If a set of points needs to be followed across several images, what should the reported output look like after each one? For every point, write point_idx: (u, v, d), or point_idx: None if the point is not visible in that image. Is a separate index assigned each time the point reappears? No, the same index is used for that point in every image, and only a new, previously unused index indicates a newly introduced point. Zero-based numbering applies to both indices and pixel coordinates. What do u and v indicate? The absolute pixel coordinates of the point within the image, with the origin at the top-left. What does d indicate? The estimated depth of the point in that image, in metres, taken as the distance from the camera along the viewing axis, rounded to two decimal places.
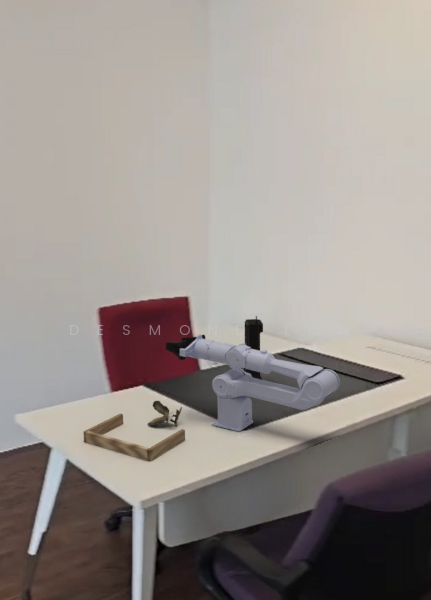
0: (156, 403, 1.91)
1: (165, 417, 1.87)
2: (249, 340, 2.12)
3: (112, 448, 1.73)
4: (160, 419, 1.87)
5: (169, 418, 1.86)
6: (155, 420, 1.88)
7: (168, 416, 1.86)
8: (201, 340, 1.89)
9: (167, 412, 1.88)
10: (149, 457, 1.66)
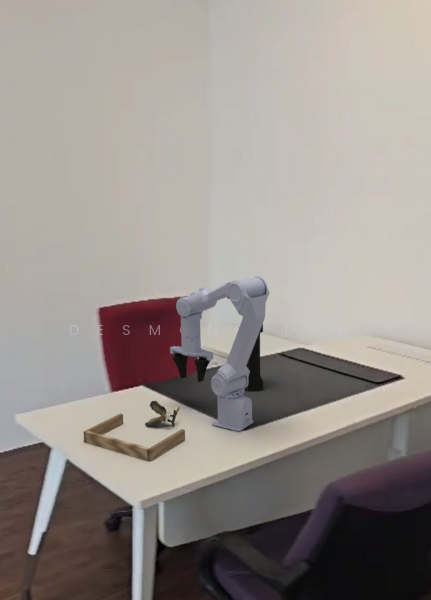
0: (153, 403, 1.91)
1: (162, 417, 1.87)
2: None
3: (112, 448, 1.73)
4: (157, 419, 1.87)
5: (166, 418, 1.86)
6: (152, 420, 1.88)
7: (165, 416, 1.86)
8: None
9: (164, 412, 1.88)
10: (149, 457, 1.66)
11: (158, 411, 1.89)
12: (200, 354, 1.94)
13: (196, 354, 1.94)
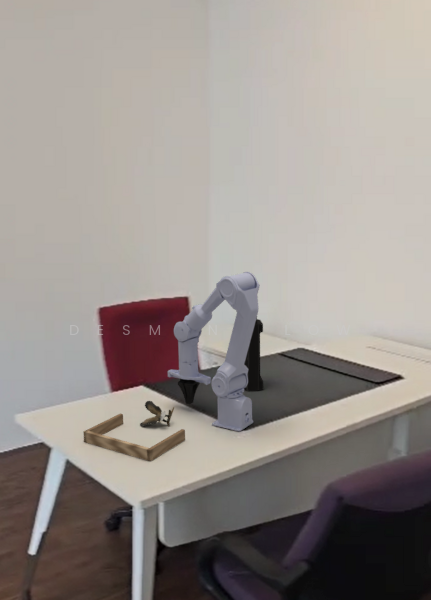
0: (148, 403, 1.91)
1: (157, 417, 1.87)
2: None
3: (112, 448, 1.73)
4: (152, 419, 1.87)
5: (161, 418, 1.86)
6: (147, 420, 1.88)
7: (160, 416, 1.86)
8: None
9: (159, 412, 1.88)
10: (149, 457, 1.66)
11: (153, 411, 1.89)
12: (197, 378, 1.94)
13: (193, 378, 1.94)
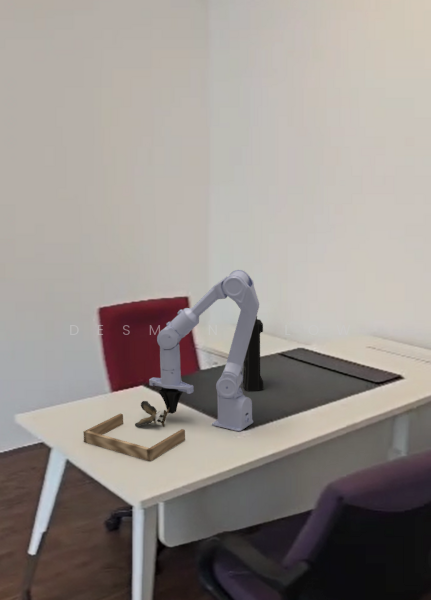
0: (144, 403, 1.91)
1: (152, 417, 1.87)
2: None
3: (112, 448, 1.73)
4: (147, 419, 1.87)
5: (156, 418, 1.85)
6: (142, 420, 1.88)
7: (155, 416, 1.86)
8: None
9: (154, 412, 1.87)
10: (149, 457, 1.66)
11: (148, 411, 1.89)
12: (180, 387, 1.87)
13: (175, 387, 1.87)
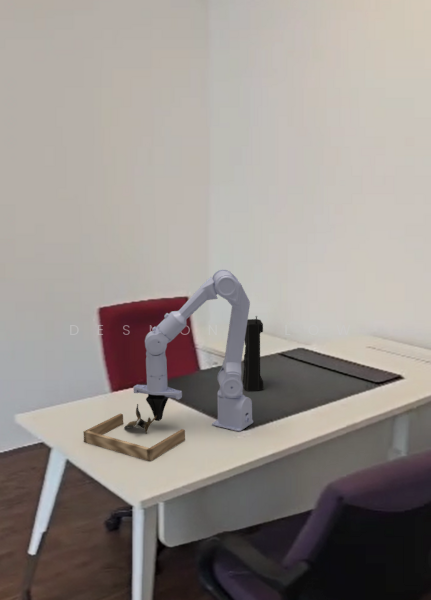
0: None
1: (135, 422, 1.83)
2: (249, 340, 2.12)
3: (112, 448, 1.73)
4: (132, 423, 1.84)
5: (136, 424, 1.82)
6: (129, 423, 1.86)
7: (136, 422, 1.82)
8: None
9: (139, 418, 1.84)
10: (149, 457, 1.66)
11: (136, 415, 1.86)
12: (168, 393, 1.82)
13: (164, 393, 1.82)
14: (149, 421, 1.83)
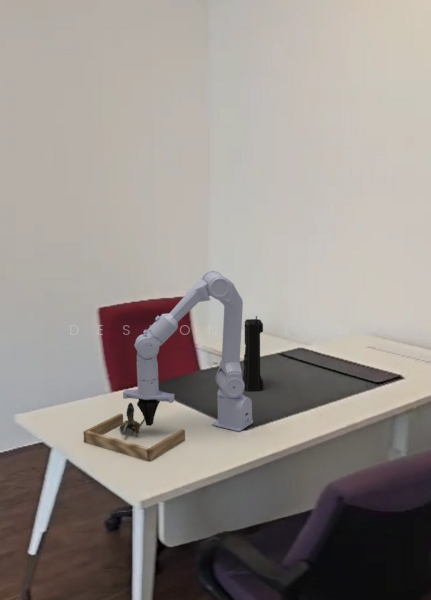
0: None
1: (126, 425, 1.82)
2: (249, 340, 2.12)
3: (112, 448, 1.73)
4: (124, 425, 1.83)
5: None
6: (122, 424, 1.85)
7: None
8: None
9: (128, 421, 1.81)
10: (149, 457, 1.66)
11: None
12: (161, 397, 1.79)
13: (156, 397, 1.79)
14: (137, 425, 1.80)
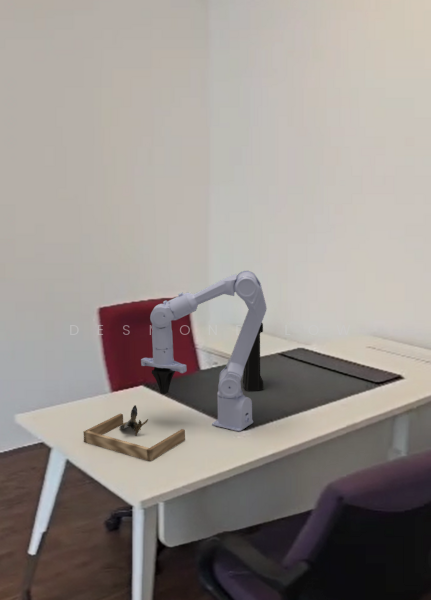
0: None
1: None
2: None
3: (112, 448, 1.73)
4: (125, 424, 1.84)
5: None
6: (123, 423, 1.86)
7: None
8: None
9: (131, 419, 1.83)
10: (149, 457, 1.66)
11: None
12: (172, 366, 1.83)
13: (168, 366, 1.83)
14: (139, 424, 1.82)
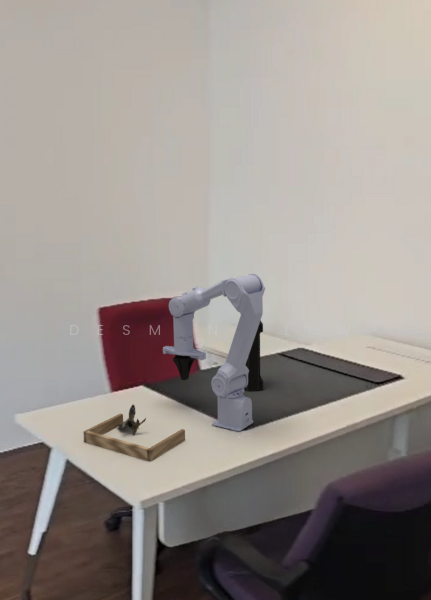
0: None
1: None
2: None
3: (112, 448, 1.73)
4: (123, 423, 1.85)
5: None
6: None
7: None
8: None
9: (129, 418, 1.84)
10: (149, 457, 1.66)
11: None
12: (192, 354, 1.94)
13: (188, 354, 1.94)
14: (137, 423, 1.82)
